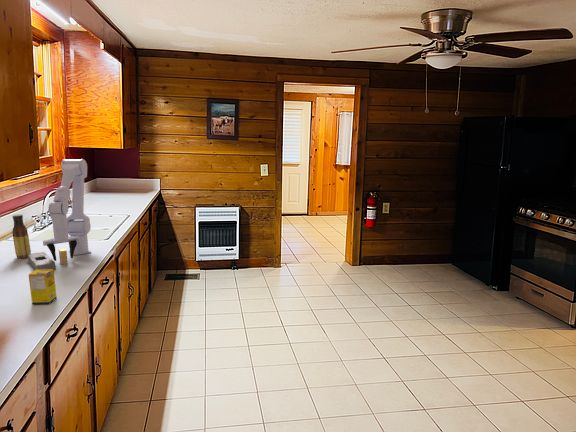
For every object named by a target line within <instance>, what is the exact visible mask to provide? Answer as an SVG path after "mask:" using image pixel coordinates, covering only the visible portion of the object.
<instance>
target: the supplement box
mask: <svg viewBox="0 0 576 432" xmlns="http://www.w3.org/2000/svg"><path fill="white" fill-rule="evenodd" d="M55 278H56V277H55V270H54V269H36V270H35V269H34V270H33V271H32V272H30V273H28V282H29V283H28V284H29V290H30V298H31V304H34V305H49V304H48V303H50V302H51V303H52V301H53V300H54V299H55V300H56V299H57V288H56V287H57V286H56V281H55V280H56V279H55ZM55 300H54V301H55ZM54 301H53V302H54ZM51 303H50V304H51Z"/></svg>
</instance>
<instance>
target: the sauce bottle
mask: <svg viewBox="0 0 576 432" xmlns="http://www.w3.org/2000/svg"><path fill="white" fill-rule="evenodd" d="M12 220H13V228H12V238H13V246H14V252H15V255H16V258H17V259H21V260H22V259H28V258H27V254H32V249H31V245H30V243H31V242H30V238H29V233H28V228H27V227H26V225H25V224H24V216H23V214H14V215H12Z"/></svg>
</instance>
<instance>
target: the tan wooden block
mask: <svg viewBox="0 0 576 432" xmlns="http://www.w3.org/2000/svg"><path fill="white" fill-rule="evenodd" d="M58 255H59V256H58V257H59V258H58V259H59V263H60V264H61V265H67V264H69V261H68V251H67V249H66V248H59V249H58Z"/></svg>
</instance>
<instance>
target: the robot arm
mask: <svg viewBox="0 0 576 432" xmlns="http://www.w3.org/2000/svg"><path fill="white" fill-rule="evenodd" d="M60 163H61V164H60V168H61V172H62V176H61V177H62V178H61V181H60V182H61V183H60V186H59V187H57V188H56V190H55V194H54V197H53V200H52V201H51V202H50V203H49V204H48V213H49V216H50V219H52V220H51V221H52V229H53V230H52V231H53V238H50V239H45V240H42V243H43V244H42V245H43V246H46V247H47V248H48V249H49V251H50V253H51V256H52V258H53V259H52V260H53V261H54V262H56V261H57V255H56V246H55V245H56V244H65V243H68V246H69V250H68V252H69V257H70V258H71V259H73V258H74V256H78V255H84V254H91V253H92V251H91V250H90V249H89V242H88V240H89V239H88V234H89V233H90V231H91V227H92V226H91V221H90V217H89V216H88V215H86V214H85V213H84V211H85V209H84V206H85V205H84V201H85V198H84V196H85V192H84V190H85V179H86V178H87V177H88V163H87V161H86V160H85V159H83V158H81V159H66V158H65V159H62V161H61V162H60ZM71 185H72V189H71V190H72V192H71V190H70V188H71ZM71 193H72V194H71ZM70 196H71V197H72V198H71V199H72V200H71V201H72V202H71V203H72V205H71V207H72V208H71V214H70V215H68V216H67V214H68V212H69V200H70Z"/></svg>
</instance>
